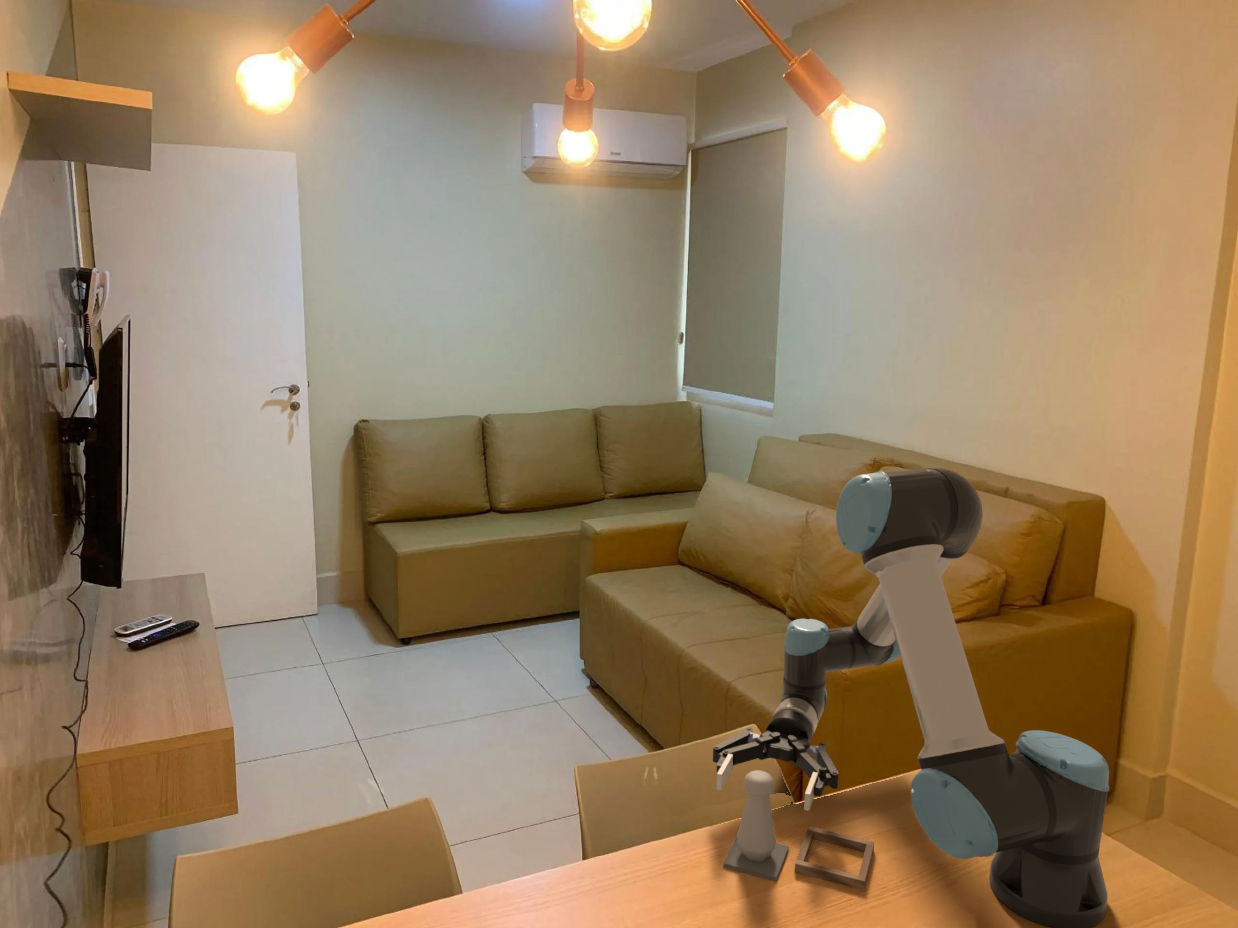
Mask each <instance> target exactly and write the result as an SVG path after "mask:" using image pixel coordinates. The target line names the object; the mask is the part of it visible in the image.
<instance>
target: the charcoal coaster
mask: <svg viewBox="0 0 1238 928" xmlns="http://www.w3.org/2000/svg"><path fill="white" fill-rule="evenodd" d="M789 850H790V846H789V845H786V844H781V843H778V842H776V845H775V848H774V850H773V851H772V853H771V855H770V857H769V858H767V859H765V860H764V861H762V862H757V861H749V860H748V859H747V858H746V857H745V856H744V855H743V854H742V853H741V850H740V848H739V845H738V843H737V836H736V837H735V839H734V840H733V843H732V845H731V847H730V849H729V850H728V853H727V855H726V856H725V858H724V861H723V868H727V869H730V870H734V871H738V872H742V873H745V874H749V875H752V876H756V877H760V878H763V879H766V880H769V881H770V880H771V881H774V882H777V880H778V877H779V875H780V874H781V871H782V868H783V865H784V864H785V863H784V862H785V860H786V858H787V854H788V853H789Z"/></svg>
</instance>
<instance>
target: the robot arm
mask: <svg viewBox="0 0 1238 928" xmlns="http://www.w3.org/2000/svg"><path fill="white" fill-rule="evenodd" d="M978 493H979V492H978V491H977V490H976V488H975V487H974V485H973V484H972V483H971V482H970V481H969V480H968V479H967V478H966V477H964V476H963V475H961V474H960V473H959V472H955V471H953V470H950V469H946V468H941V467H940V468H939V467H930V468H923V469H909V470H893V471H892V470H891V471H890V470H889V471H883V470H879V471H878V470H877V471H874V472H872V473H864V474H863V473H862V474H859V475H856V476H854V477H852V478H851V479H850V480H849V481H847V482H846V483H845V485H844V486H843V488H842V490H841V492H840V495H839V499H838V502H837V505H836V512H835V513H836V514H835V521H836V522H835V524H836V531H837V535H838V537H839V540H840V542H841V544H842V545H843V546H845V549H846V550H847V551H849V552H850V553H854V554H856V555H857V554H858V555H860V556H861V560H862V564H863V567H864V569H865V570H866V571H868V572H869V573H872V574H873V575H875V576H876V577H877V578H878V581H879V584H878V587H877V588H876V589H875V591H874V592H873V594H872V596H871V597H870V598H869V600H868V602H867V604H866V605H865V607H864V608H863V610H862V611H861V613H860V614H859V616H858V617H857V619H856V620H855V622H854V623H853V624H852V625H850V626H844V627H837V628H829V627H828V626H827V624H825V622H823V621H821V620H817V619H814V618H809V619H807V618H797V619H795V620H792V621H790V622H789V623H788V624H787V627H786V632H785V637H784V660H783V661H784V664H783V666H784V669H783V671H784V672H783V679H782V696H781V699H780V702H779V704H778V706H777V707H776V708H775V711H774V713H773V715H772V717H771V719H770V720H769V723H768V725H767V727H766V728H765V731H764V732H762V733H760V734H757V733H755V732H753V728H751V727H746V728H744V730H743V731H742V732H740V733H739V734H736V735H735V736H734V735H733V736H732V737H730V738H728V739H726V740H723V741H721V742H720V743H717V744H716V745H714V746H712V762H713V763H716V790H717V791H722V790H723V788H724V786H725V784H726V782H727V780H728V779H729V776H730V775H731V773H732V772H733V766H736V765H739V764H743V763H746V762H751V761H753V760H757V759H759V760H760V761H763V760H766V759H773V760H781V761H784V762H791V763H792V764H793V765H794V766H795V767H796V768H797V769H800V770H802V771H801V772H803V773H804V774H805V775H806V776H807V777H808V778H809V781H808V783H807V784H808V785H807V787H806V790H805V792H804V801H803V803H804V804H803V805H804V806H803V810H804V811H810V810H811V807H812V803H813V801H814V799H815V797H821V796H822V795H823V793H824V791H825V790H824V789H825V788H826V787H829V788H830V789H833V790H836V789H838V788H839V771H838V770H837V768H836V766H835V765H834V763H833V761H832V759H831V757H830V756H829V755H830V754H829V753H828V752H827V743H825V742H819V743H818V745H810V744H811V742H812V739H813V736H814V734H815V732H816V729H817V727H818V724H819V722H820V719H822V718H821V717H822V715H823V714H824V711H825V710H826V708H827V702H828V691H827V688H826V681H827V679H826V678H827V673H828V672H829V673H830V672H836V671H843V670H849V669H858V668H863V667H864V668H865V667H871V666H872V667H873V666H876V667H877V666H881V665H884V664H886V663H887V664H888V663H891V662H895V661H896V660H897V659H898V658H899V657H900V658H901V661H902V662H901V663H902V666H903V669H904V672H905V676H906V680H907V683H908V687H909V690H910V693H911V696H912V700H913V704H914V708H915V711H916V714H917V717H918V718H917V719H918V722H919V725H920V730H921V732H922V736H923V739H924V744H923V745H924V746H923V747H922V749H921V750H920V752H919V754H918V756H917V759H918V763H919V767H920V770H919V771H918V772H917V774H915V775H914V776H913V779H912V781H911V785H910V786H911V788H912V789H911V790H910V799H911V800H910V801H911V804H912V809H913V811H914V814H915V817H916V819H917V821H918V823H919V825H920V826H921V828H922V830H923V832H924V833H925V835H926V836H927V837H928V838H929V840H930V842H932V843H934V844H935V845H936V847H937V848H938V849H940V850H941V852H943V853H945V854H946V855H948V856H950V857H953V858H956V859H961V860H967V859H973V858H977V857H978V858H979V857H980V858H981V857H983V858H987V857H991V856H993V858H992V860H991V863H990V870H989V885H990V887H991V889H992V892H993V893H994V894H995V896H996V897H997V898H998V899H999V900H1000V901H1001V902H1002V903H1003V904H1004V905H1005V906H1006V907H1007V908H1009V909H1010V910H1012V911H1013V912H1015V913H1016V914H1017V915H1020V916H1021V917H1022V918H1025V919H1027V920H1030V921H1032V922H1034V923H1037V924H1039V925H1043V926H1047V927H1050V928H1091V927H1095V926H1096V925H1098V924H1099V923H1100V922H1102V921H1103V920H1104V918H1105V915H1106V914H1107V913H1106V912H1107V906H1108V890H1107V886H1106V882H1105V877H1104V873H1103V870H1102V866H1101V862H1100V857H1099V855H1100V846H1101V843H1102V842H1101V839H1102V835H1103V828H1104V821H1105V812H1106V805H1107V798H1108V792H1109V791H1110V785H1109V779H1110V778H1109V777H1110V776H1109V775H1110V768H1109V764H1108V762H1107V760H1106V759H1105V758H1104V756H1103V755H1102V754H1101V753H1100V752H1099V751H1097V750H1096V749H1095V748H1093V747H1091V746H1090V745H1088V744H1087V743H1084V742H1083V741H1080V740H1078V739H1076V738H1072V737H1070V736H1068V735H1064V734H1061V733H1057V732H1052V731H1047V730H1040V729H1039V730H1038V729H1037V730H1027V731H1023V732H1022V733H1021V734H1020V735H1019V736H1018V739H1017V741H1016V742H1015V746H1016V749H1015V751H1014V752H1011V753H1009V751H1008V748H1007V745H1006V742H1005V740H1004V739H1003V738H1002V737H1000V736H998V735H996V734H995V733H993V732H992V731H991V730H990V729H989V727H988V723H987V720H986V717H985V714H984V711H983V707H982V703H981V701H980V698H979V695H978V694H979V693H978V691H977V688H976V686H975V685H976V684H975V681H974V678H973V675H972V672H971V668H970V666H969V662H968V659H967V655H966V653H965V650H964V647H963V643H962V639H961V637H960V633H959V630H958V626H957V624H956V621H955V616H954V614H953V610H952V607H951V604H950V601H949V597H948V594H947V591H946V587H945V585H944V581H943V579H942V575H943V574H945V571H946V570H947V568H948V567H949V566H950V565H951V563H952V562H953V560H960V559H961V558H963V557H964V556H965V555H966V554H967V552H968V551H969V550H970V548H971V547H972V545H973V544H974V542H975V541H976V539H977V537H978V535H979V532H980V530H981V528H982V523H983V513H984V512H983V505H982V501H981V498H980V495H979V494H978ZM810 754H811V756H813V758H812V757H811V756H810Z"/></svg>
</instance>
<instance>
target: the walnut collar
mask: <svg viewBox="0 0 1238 928" xmlns="http://www.w3.org/2000/svg"><path fill="white" fill-rule="evenodd" d="M814 841H817V842H821V843H824V844H830V845H832V846H836V847H841V848H845V849H849V850H853V851H858V852H861V853H863V858H862V861H861V865H860V869H859V872H858V874H854V873H850V872H847V871H842V870H839V869H835V868H832V867H828V866H824V865H819V864H815V863H811V862H808V861H807V859H808V856H809V853H810V851H811V848H812V846H813V842H814ZM874 851H875V841H872V840H868V839H864V838H860V837H855V836H850V835H848V834H847V835H846V834H843V833H839V832H835V831H830V830H826V829H823V828H818V827H814V826H810V825H809V826H808V827H807V830H806V833H805V835H804V838H803V841H802V844H801V846H800V849H799V851H798V855H797V856H796V857H797V858H796V860H795V862H794V873H795V874H799V875H803V876H806V877H811V878H814V879H819V880H821V881H825V882H830V883H833V884H836V885H841V886H845V887H849V888H852V889H856V890H859V891H865V889H866V884H867V879H868V875H869V872H870V867H871V863H872V860H873V854H874Z"/></svg>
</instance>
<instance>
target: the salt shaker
mask: <svg viewBox="0 0 1238 928" xmlns="http://www.w3.org/2000/svg"><path fill="white" fill-rule="evenodd" d="M743 786H744V789H745V791H746V792H747V795H746V799H745V804H744V807H743V812H742V816H741V820H740V823H739V828H738V831H737V834H736V837H737V843H738V845H739V848H740V850H741V853H742V854H743V855H744V856H745V857H746V858H747V859H748V860H749V861H757V862H762V861H764V860H765V859H767V858H769V857H770V855H771V853H772V851H773V850H774V848H775V845H776V843H777V842H776V841H777V840H776V839H777V837H776V832H775V827H774V820H773V814H772V805H771V800H770V799H771V798H770V794H771V793H773V791H774V778H773V777H772V775H771V774H770V773H769V772H766V771H764V770H757V769H756V770H752V771H749V772H748V773H747V774H746V775H745V777H744V785H743Z"/></svg>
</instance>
